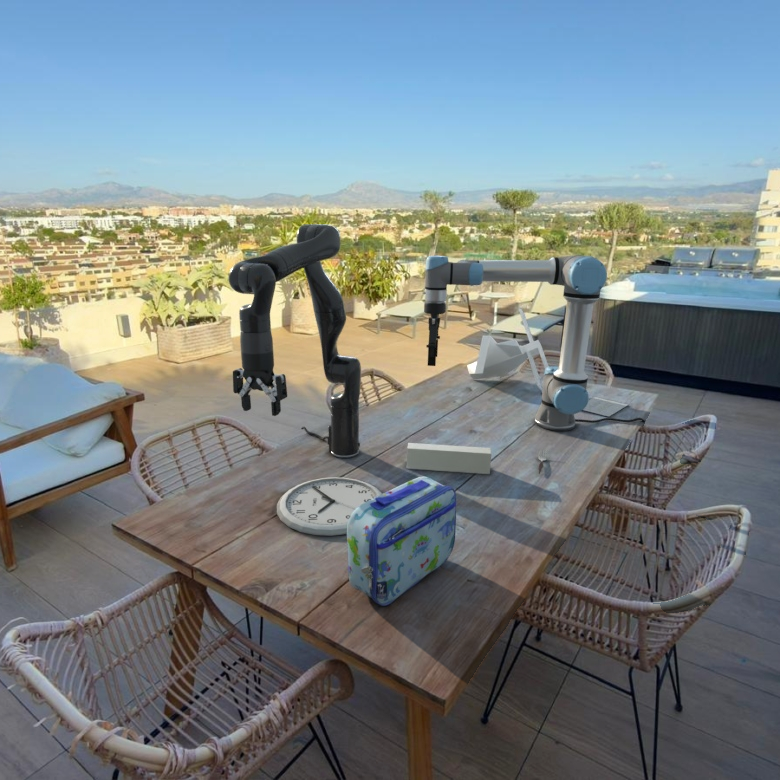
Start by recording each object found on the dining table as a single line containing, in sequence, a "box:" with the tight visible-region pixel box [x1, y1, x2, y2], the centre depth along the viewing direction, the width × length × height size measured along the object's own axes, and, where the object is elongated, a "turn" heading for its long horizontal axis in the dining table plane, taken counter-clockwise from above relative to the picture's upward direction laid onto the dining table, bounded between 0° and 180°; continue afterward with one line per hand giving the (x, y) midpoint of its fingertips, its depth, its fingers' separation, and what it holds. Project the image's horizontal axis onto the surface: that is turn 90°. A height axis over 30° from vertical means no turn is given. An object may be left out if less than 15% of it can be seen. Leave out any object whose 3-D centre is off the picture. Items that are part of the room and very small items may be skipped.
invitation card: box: [582, 396, 629, 418], centre depth 226 cm, size 21×1×15 cm
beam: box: [406, 442, 492, 475], centre depth 165 cm, size 26×4×7 cm, turn 83°
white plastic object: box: [466, 308, 550, 393], centre depth 255 cm, size 37×45×31 cm
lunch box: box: [346, 475, 457, 607], centre depth 111 cm, size 26×11×21 cm, turn 134°
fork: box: [538, 449, 548, 474], centre depth 169 cm, size 3×16×2 cm, turn 160°
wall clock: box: [276, 476, 384, 537], centre depth 142 cm, size 30×2×30 cm
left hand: (261, 412), depth 130 cm, fingers open, 8 cm apart
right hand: (432, 361), depth 188 cm, fingers open, 13 cm apart
